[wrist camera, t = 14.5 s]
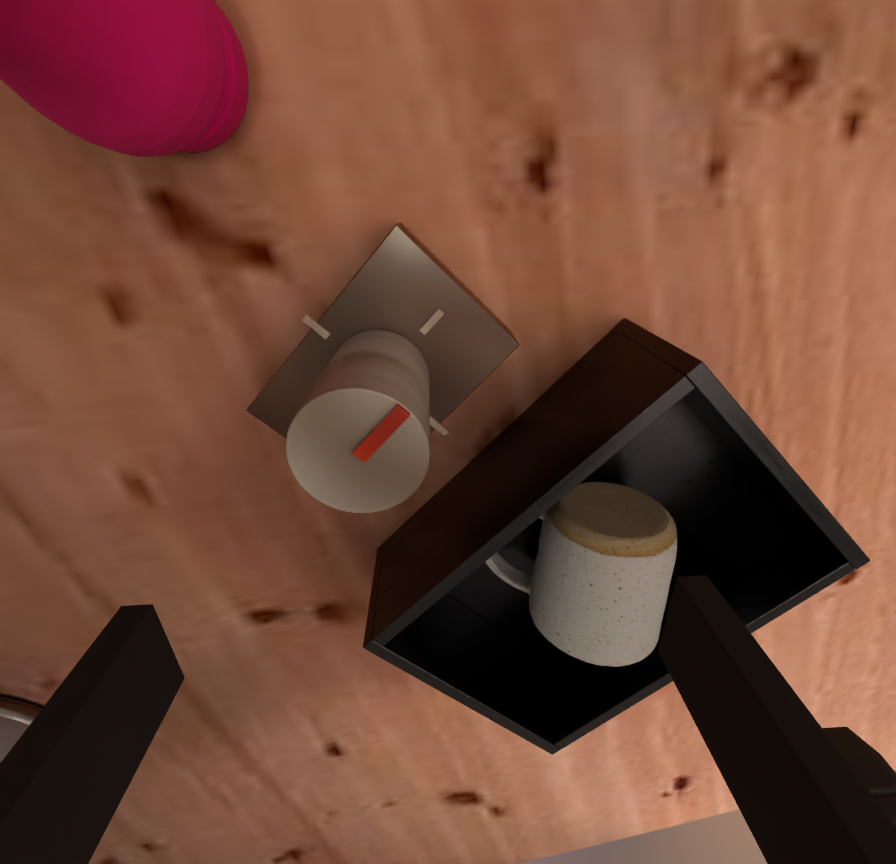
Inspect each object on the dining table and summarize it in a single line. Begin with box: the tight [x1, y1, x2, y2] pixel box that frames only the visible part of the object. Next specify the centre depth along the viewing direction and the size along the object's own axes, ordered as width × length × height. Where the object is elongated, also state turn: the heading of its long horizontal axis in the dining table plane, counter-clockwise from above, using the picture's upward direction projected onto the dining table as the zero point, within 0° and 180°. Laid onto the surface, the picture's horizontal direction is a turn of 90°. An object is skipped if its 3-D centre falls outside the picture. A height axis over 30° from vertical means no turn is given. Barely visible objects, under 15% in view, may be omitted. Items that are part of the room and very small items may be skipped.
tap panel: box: [247, 223, 519, 438], centre depth 24 cm, size 12×9×3 cm
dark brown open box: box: [363, 318, 870, 754], centre depth 28 cm, size 22×16×8 cm
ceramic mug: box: [486, 482, 677, 667], centre depth 27 cm, size 11×8×8 cm
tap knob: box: [286, 330, 430, 513], centre depth 19 cm, size 5×5×8 cm
